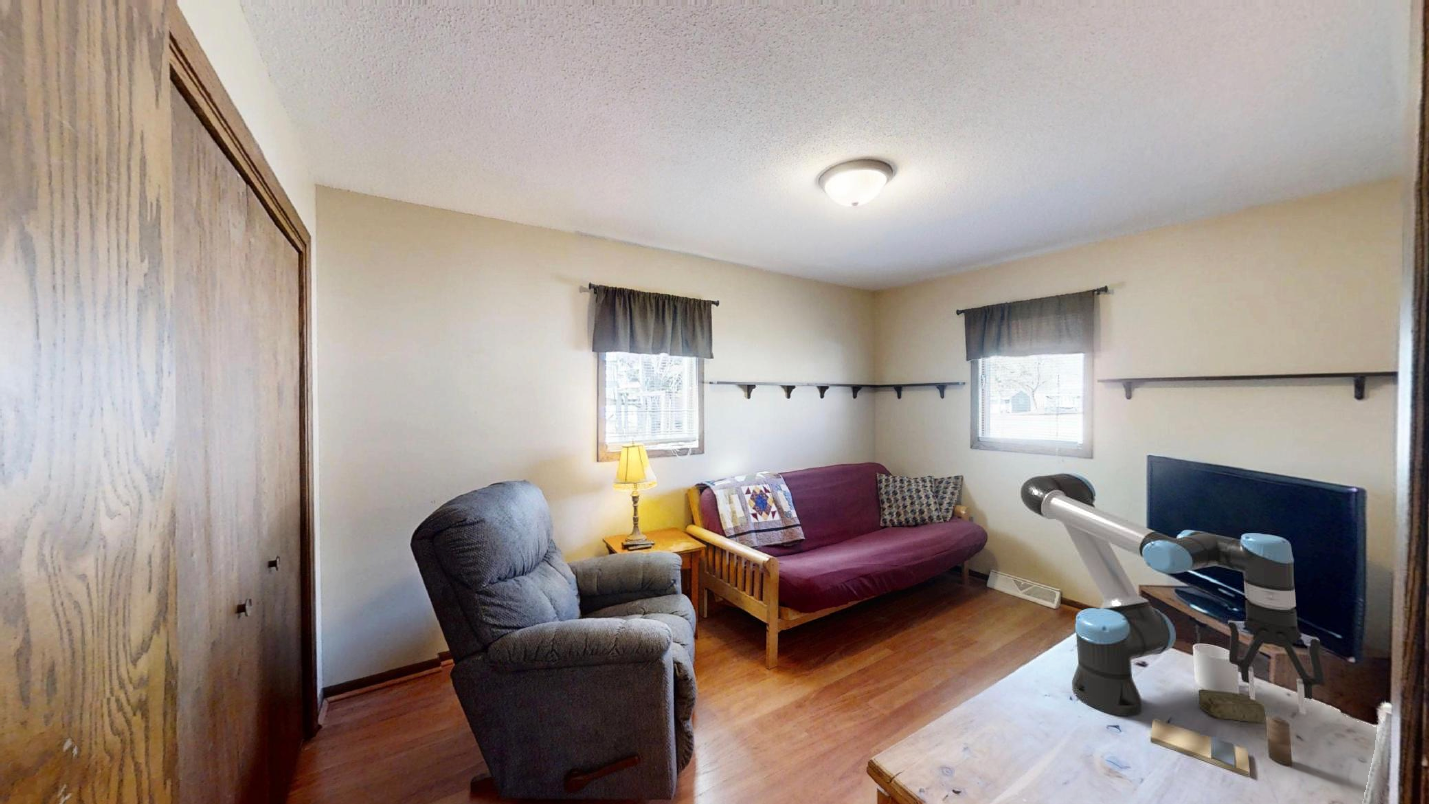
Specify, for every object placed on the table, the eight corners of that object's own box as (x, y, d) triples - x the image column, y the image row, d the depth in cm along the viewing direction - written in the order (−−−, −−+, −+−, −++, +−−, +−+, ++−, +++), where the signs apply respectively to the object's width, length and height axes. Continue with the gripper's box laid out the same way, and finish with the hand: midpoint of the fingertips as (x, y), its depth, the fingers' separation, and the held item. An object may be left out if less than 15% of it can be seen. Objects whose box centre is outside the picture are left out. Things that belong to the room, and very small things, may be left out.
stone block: (1268, 726, 117) (1267, 706, 117) (1211, 719, 120) (1209, 700, 120) (1249, 711, 122) (1248, 692, 122) (1195, 705, 126) (1194, 687, 126)
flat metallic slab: (1150, 741, 113) (1150, 735, 113) (1160, 681, 136) (1160, 676, 136) (1250, 777, 102) (1249, 770, 102) (1242, 705, 124) (1242, 699, 124)
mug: (1253, 690, 130) (1250, 652, 130) (1229, 701, 126) (1226, 662, 126) (1211, 674, 138) (1209, 638, 138) (1188, 684, 134) (1186, 647, 134)
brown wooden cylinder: (1269, 760, 106) (1266, 717, 106) (1268, 752, 108) (1265, 710, 108) (1293, 768, 103) (1290, 724, 104) (1291, 760, 106) (1288, 717, 106)
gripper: (1208, 597, 111) (1214, 693, 111) (1344, 622, 97) (1351, 732, 96) (1208, 587, 116) (1213, 679, 116) (1337, 610, 102) (1344, 714, 101)
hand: (1276, 703), depth 106 cm, fingers open, 7 cm apart
